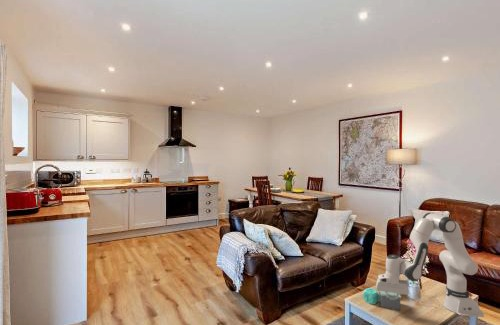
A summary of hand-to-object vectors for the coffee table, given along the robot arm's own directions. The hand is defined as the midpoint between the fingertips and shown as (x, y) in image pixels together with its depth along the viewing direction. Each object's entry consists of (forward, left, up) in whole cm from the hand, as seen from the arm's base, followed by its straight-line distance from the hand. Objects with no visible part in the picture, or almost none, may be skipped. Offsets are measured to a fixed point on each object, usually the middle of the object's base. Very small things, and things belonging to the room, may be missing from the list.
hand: (391, 298), depth 189 cm
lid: (0, -5, -1) cm, 5 cm away
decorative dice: (+12, -8, -9) cm, 17 cm away
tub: (0, -7, -9) cm, 11 cm away
